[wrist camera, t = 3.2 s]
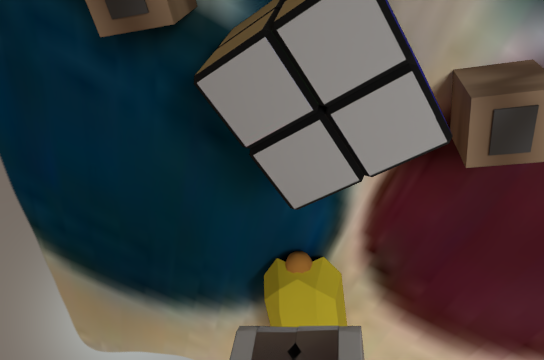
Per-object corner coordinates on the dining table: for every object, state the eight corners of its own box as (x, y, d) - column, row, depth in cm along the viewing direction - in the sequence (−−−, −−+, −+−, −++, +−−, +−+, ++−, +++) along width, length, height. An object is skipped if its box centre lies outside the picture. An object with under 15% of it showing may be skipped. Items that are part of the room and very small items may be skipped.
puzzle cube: (424, 74, 29) (457, 143, 21) (304, 137, 33) (292, 215, 25) (357, -62, 25) (365, -41, 17) (230, 29, 29) (187, 81, 21)
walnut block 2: (532, 59, 27) (567, 88, 23) (521, 127, 30) (550, 164, 26) (452, 69, 29) (472, 99, 24) (449, 134, 31) (466, 170, 27)
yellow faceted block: (288, 350, 50) (351, 351, 49) (281, 405, 45) (352, 408, 43) (260, 242, 41) (338, 239, 39) (248, 296, 35) (338, 295, 34)
